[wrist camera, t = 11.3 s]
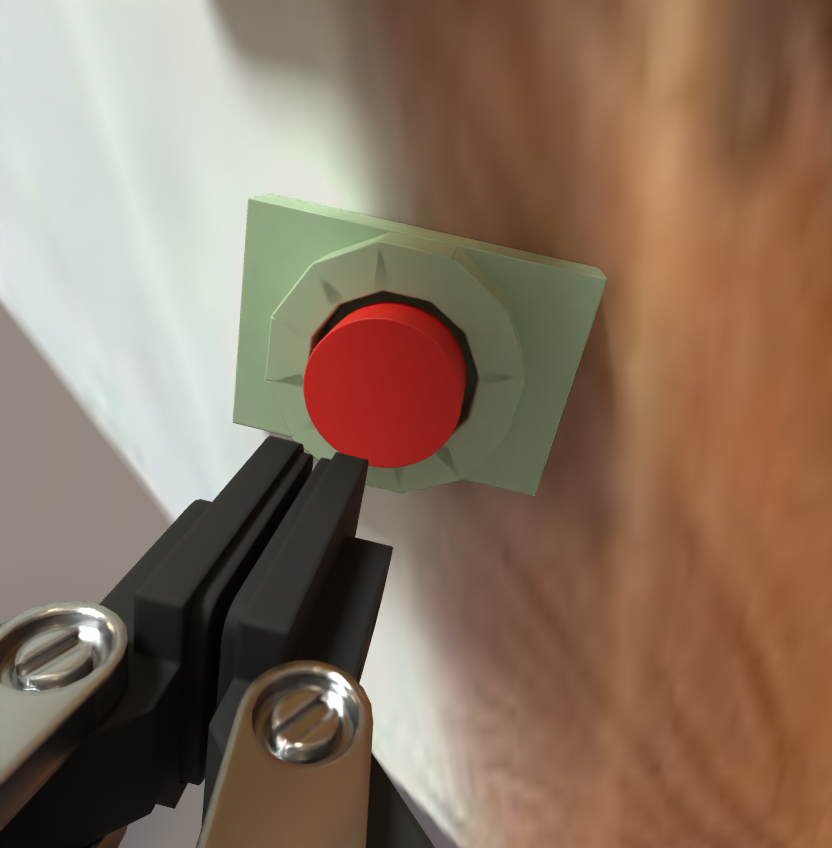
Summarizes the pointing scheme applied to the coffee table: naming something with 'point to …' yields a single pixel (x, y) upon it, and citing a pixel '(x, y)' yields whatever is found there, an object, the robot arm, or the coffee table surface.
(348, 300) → the button box
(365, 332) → the stop button
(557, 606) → the coffee table surface
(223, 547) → the robot arm
